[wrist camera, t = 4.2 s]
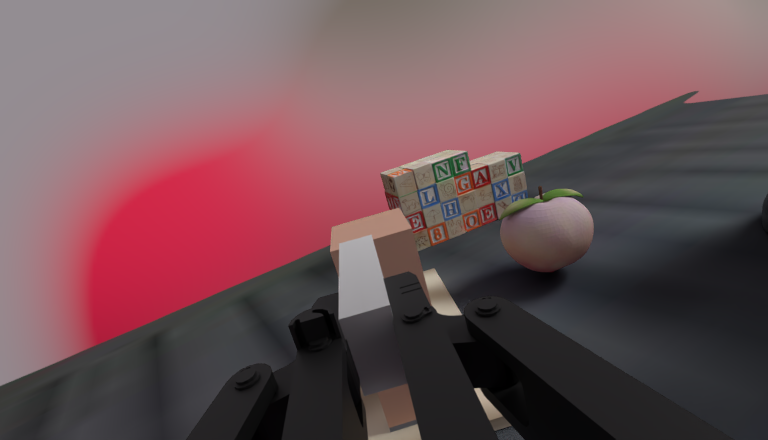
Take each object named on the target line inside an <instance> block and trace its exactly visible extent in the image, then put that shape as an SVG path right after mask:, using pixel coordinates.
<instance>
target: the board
mask: <svg viewBox="0 0 768 440" xmlns="http://www.w3.org/2000/svg"><path fill="white" fill-rule="evenodd" d="M423 273H424V277H425V281H426V285H427V289H428V293H429V297H430V300H431V304H432V306H433V307H434V308H435V309H436V311H437V313H439V314H442V315H448V316H455V315H462V314H461V312H460V311H459V309H458V307H457V306H456V304H455V302H454V301H453V299H452V297H451V296H450V294H449V292H448V291H447V289H446V287H445V286H444V284H443V282H442V281H441V279H440V277H439V276H438V274H437V272H436V271H435V269H431V270H427V271H424V272H423ZM360 389H361V386H360ZM474 390H475V392H476V394H477V396H478V398H479V400H480V402H481V404H482V406H483V408H484V410H485V412H486V415H487V417H488V419H489V421H490V423H491V425H492V427H493V429H494V431H496V430H500V429H503V428H506V427H509V426H512V425H511V424H510V423H509V422H508V421H507V420H506V419H505V418H504V417H503V416H502V414H501V413H500V412H499V411H498V410H497V409H496V408H495V407H494V406H493V405H492V404H491V403H490V401H489V400H488V399H487V398H486V397H485V396H484V395H483V393H482V391H481V389H480V388H474ZM361 397H362V400H363V403H364V406H365V409H366V420H367V431H368V440H421V436H420V432H419V428H418V424H416V425H413V426H409V427H406V428H403V429H400V430H397V431H393V432H390V429H389V426H388V423H387V420H386V417H385V414H384V411H383V408H382V405H381V402H380V399H379V396H378V393H374V394H370V395H367V396H364V395H363V392H362V389H361Z"/></svg>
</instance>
